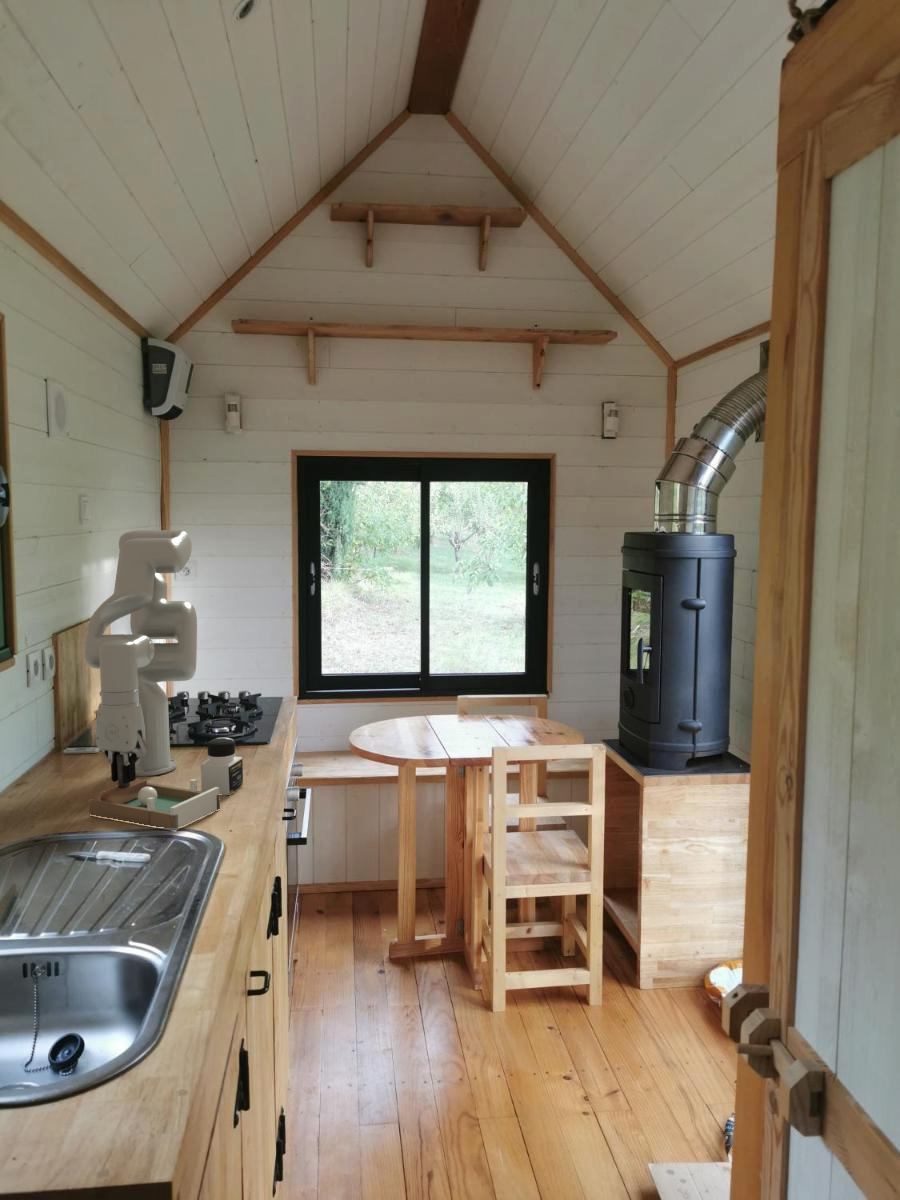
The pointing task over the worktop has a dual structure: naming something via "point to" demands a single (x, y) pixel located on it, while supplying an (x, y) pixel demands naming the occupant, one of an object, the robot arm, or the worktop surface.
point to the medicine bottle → (222, 767)
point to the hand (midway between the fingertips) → (123, 780)
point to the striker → (123, 787)
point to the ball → (146, 795)
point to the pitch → (162, 806)
